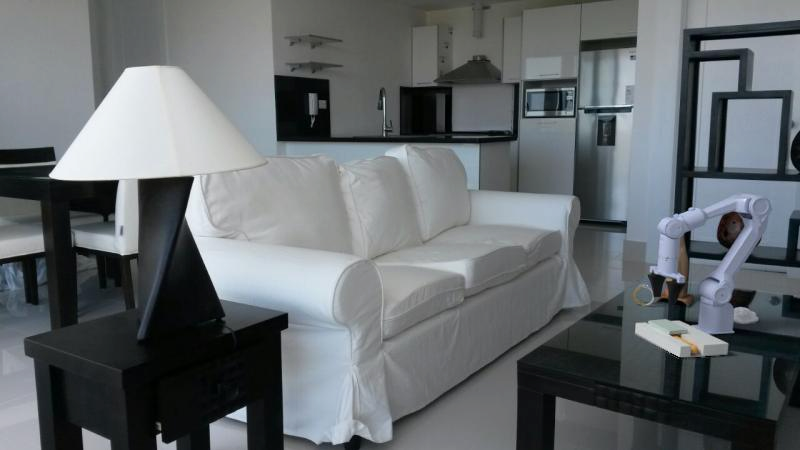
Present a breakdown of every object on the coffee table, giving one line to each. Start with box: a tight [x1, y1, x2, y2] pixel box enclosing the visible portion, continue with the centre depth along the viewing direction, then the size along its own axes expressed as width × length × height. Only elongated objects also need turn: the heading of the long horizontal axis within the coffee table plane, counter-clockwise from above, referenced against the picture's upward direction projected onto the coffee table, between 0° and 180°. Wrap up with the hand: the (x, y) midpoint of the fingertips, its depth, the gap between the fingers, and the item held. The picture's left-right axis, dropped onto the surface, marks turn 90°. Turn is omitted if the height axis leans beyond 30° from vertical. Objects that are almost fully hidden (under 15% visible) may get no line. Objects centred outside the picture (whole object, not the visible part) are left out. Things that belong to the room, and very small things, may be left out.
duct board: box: [634, 320, 729, 358], centre depth 185 cm, size 15×21×4 cm
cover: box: [647, 318, 688, 335], centre depth 188 cm, size 6×10×1 cm, turn 13°
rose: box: [733, 306, 759, 325], centre depth 210 cm, size 10×4×10 cm
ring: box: [632, 282, 656, 307], centre depth 224 cm, size 7×3×8 cm, turn 57°
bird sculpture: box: [655, 233, 695, 308], centre depth 228 cm, size 11×12×32 cm
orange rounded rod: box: [670, 334, 698, 354], centre depth 181 cm, size 2×12×2 cm, turn 12°
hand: (664, 300), depth 197 cm, fingers open, 7 cm apart
